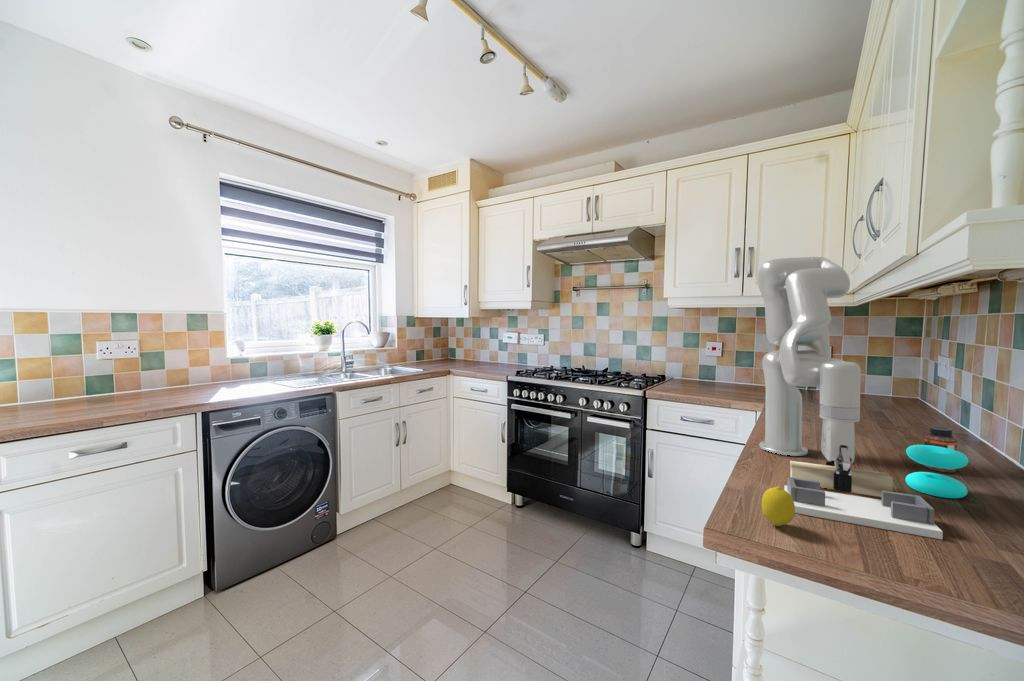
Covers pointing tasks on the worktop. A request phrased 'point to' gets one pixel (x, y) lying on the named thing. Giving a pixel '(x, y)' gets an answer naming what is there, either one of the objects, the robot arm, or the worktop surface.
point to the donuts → (933, 481)
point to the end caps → (899, 502)
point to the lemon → (778, 506)
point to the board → (864, 514)
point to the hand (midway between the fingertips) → (838, 483)
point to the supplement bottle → (941, 443)
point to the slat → (861, 479)
